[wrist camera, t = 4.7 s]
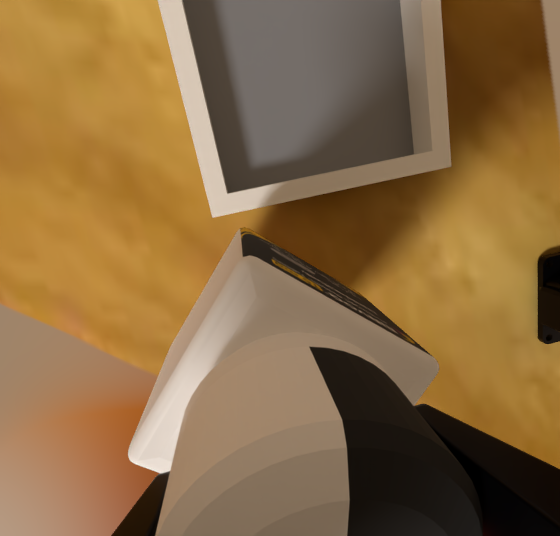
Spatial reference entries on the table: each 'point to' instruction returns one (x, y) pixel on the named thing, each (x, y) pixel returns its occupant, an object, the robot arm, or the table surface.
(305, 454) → the medicine bottle
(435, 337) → the table surface
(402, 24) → the walled box
